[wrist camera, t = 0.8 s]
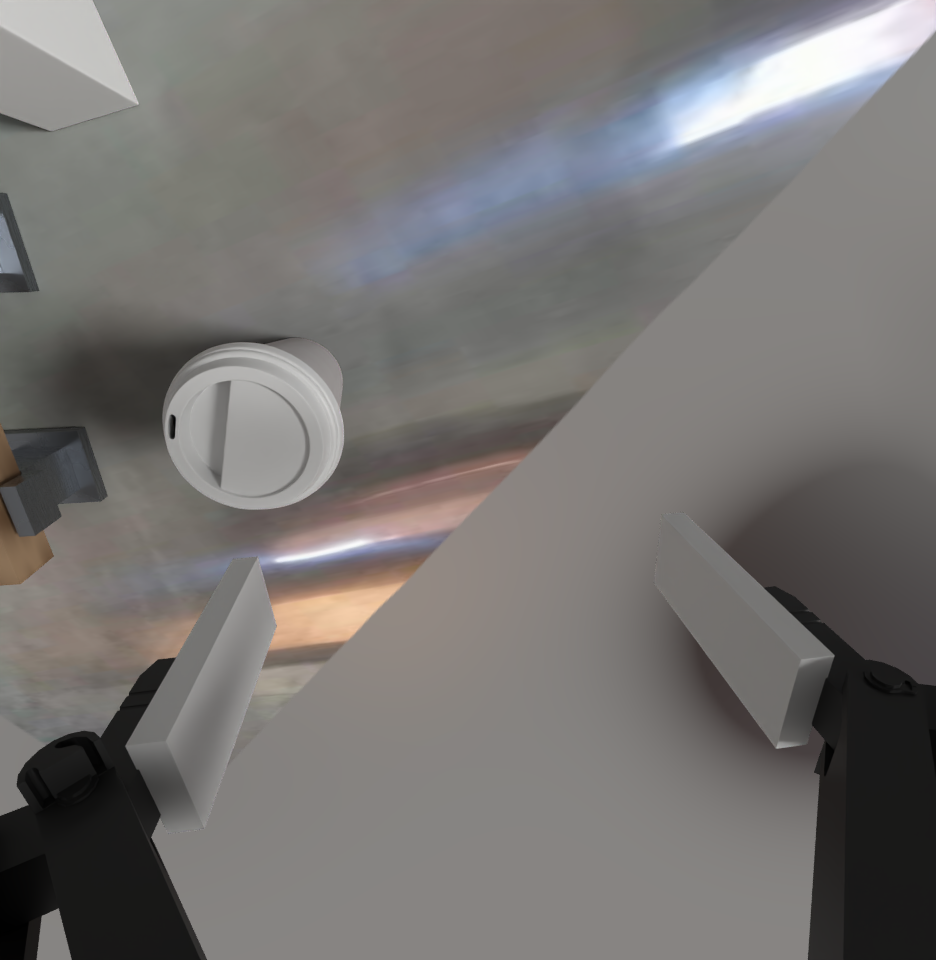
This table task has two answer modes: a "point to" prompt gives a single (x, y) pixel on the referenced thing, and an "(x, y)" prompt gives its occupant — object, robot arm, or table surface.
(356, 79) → the table surface
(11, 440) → the post
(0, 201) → the post
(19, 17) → the milk
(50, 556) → the rail
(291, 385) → the coffee cup
